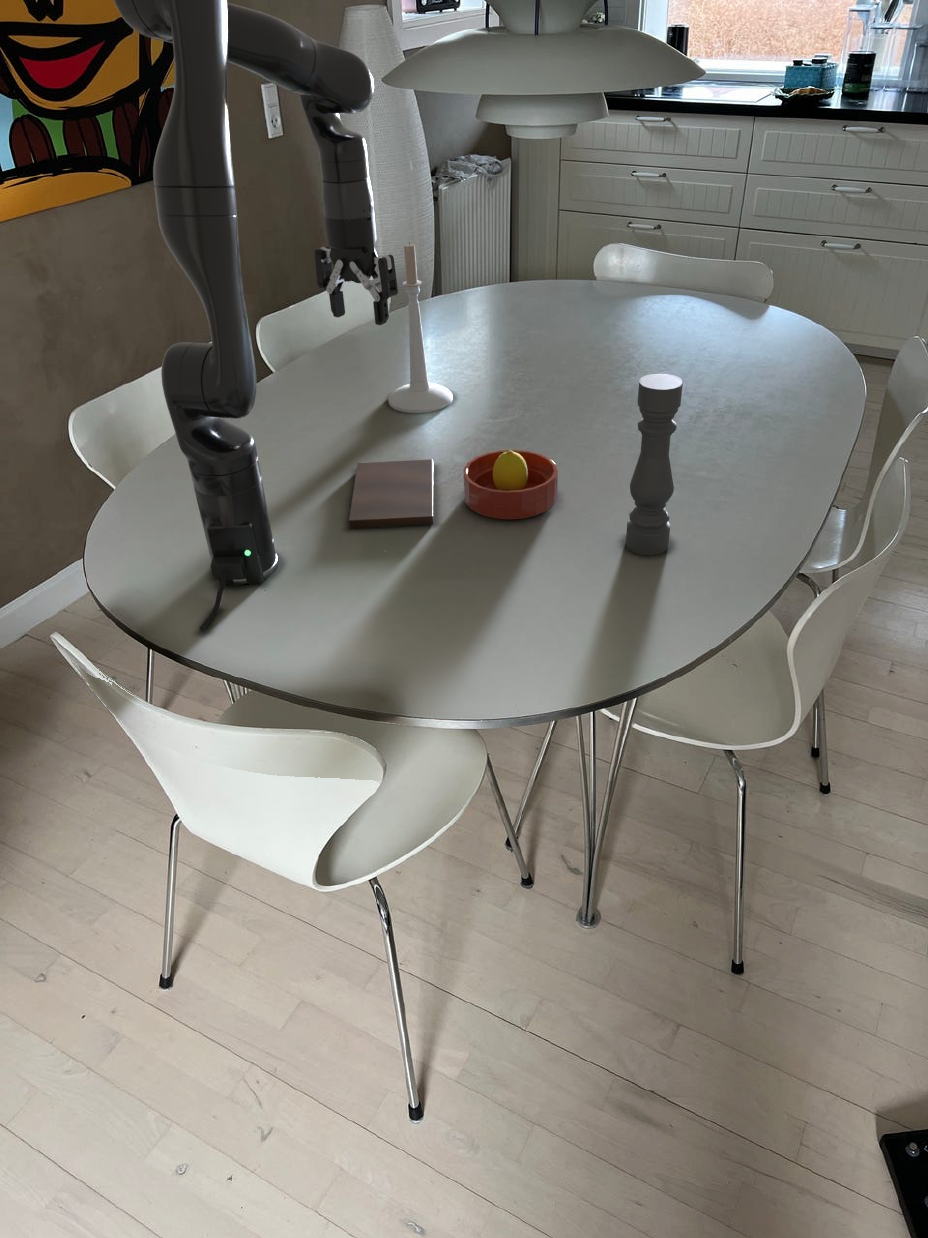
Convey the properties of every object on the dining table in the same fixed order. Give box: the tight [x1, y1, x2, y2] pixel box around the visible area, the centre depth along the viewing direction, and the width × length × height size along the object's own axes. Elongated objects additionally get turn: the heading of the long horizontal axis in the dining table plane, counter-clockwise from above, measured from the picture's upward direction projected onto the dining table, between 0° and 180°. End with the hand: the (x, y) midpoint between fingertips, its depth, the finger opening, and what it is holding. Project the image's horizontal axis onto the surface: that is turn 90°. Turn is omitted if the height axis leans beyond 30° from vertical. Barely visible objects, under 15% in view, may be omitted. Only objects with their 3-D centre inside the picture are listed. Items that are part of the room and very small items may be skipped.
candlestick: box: [387, 241, 454, 414], centre depth 176 cm, size 13×13×30 cm
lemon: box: [493, 451, 528, 491], centre depth 147 cm, size 6×6×8 cm
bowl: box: [462, 449, 559, 520], centre depth 148 cm, size 15×15×5 cm
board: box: [348, 458, 434, 530], centre depth 152 cm, size 20×13×2 cm, turn 2°
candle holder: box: [625, 373, 684, 556], centre depth 129 cm, size 6×6×25 cm
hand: (360, 319), depth 148 cm, fingers open, 8 cm apart
